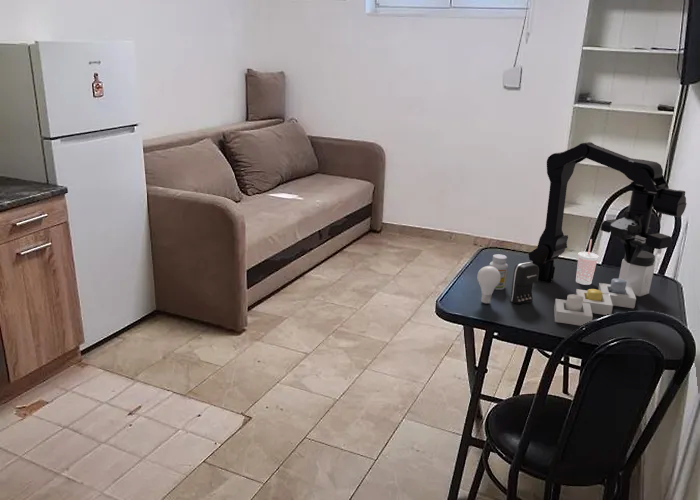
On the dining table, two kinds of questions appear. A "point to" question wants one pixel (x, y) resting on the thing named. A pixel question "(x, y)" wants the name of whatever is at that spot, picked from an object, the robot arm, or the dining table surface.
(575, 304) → the offwhite button
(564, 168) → the robot arm
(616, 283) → the slate button
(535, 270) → the battery charger
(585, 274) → the beverage cup
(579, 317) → the offwhite housing
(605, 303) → the hollow square frame
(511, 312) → the dining table surface
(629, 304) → the light gray housing
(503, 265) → the supplement bottle
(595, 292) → the mustard button
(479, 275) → the lightbulb
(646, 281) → the jar
